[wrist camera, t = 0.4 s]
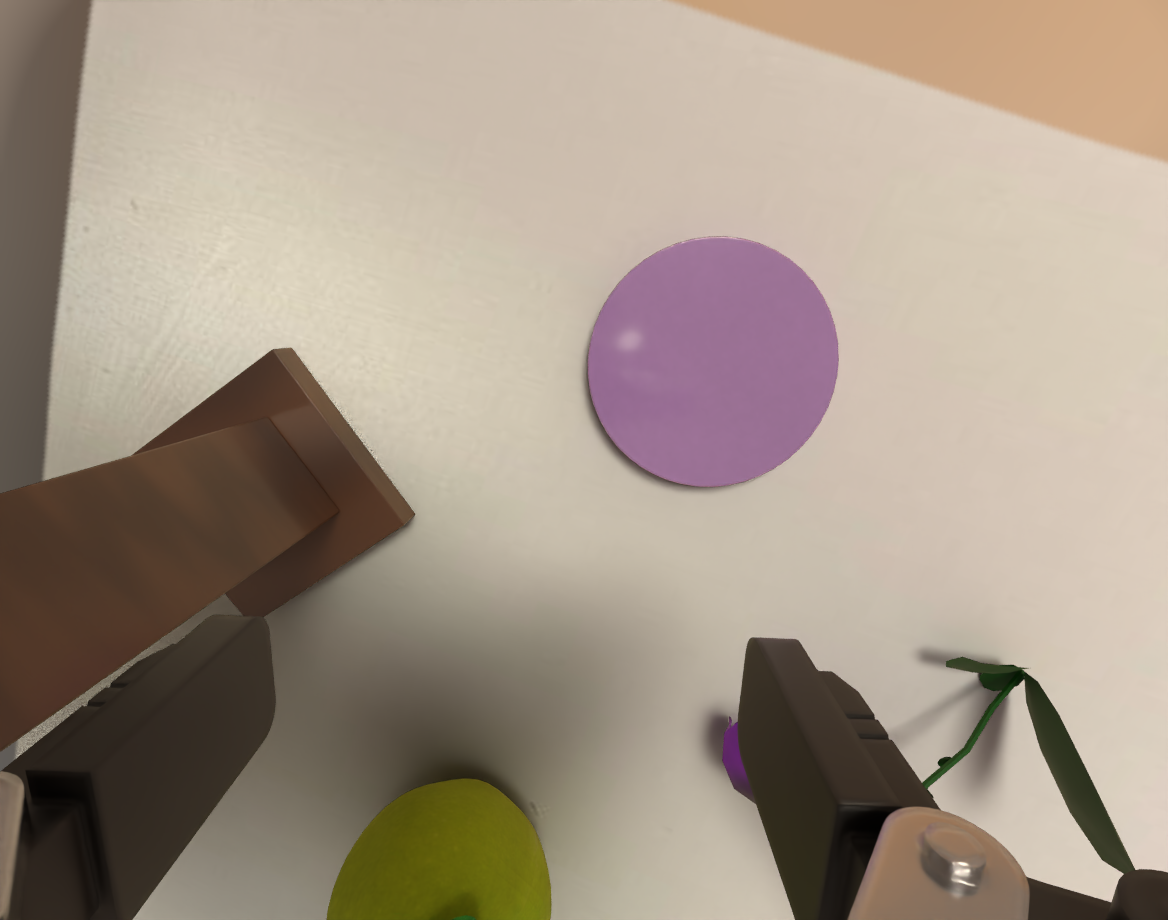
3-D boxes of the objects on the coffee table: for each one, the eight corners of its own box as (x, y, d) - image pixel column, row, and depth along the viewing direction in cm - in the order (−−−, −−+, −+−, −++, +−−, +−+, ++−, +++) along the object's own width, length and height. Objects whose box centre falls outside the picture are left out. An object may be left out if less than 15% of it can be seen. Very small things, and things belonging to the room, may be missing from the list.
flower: (828, 531, 33) (643, 714, 28) (1184, 558, 19) (920, 927, 14) (959, 736, 35) (806, 932, 31) (1365, 898, 21) (1182, 1300, 17)
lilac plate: (543, 331, 26) (539, 332, 25) (751, 187, 24) (757, 181, 23) (669, 521, 28) (671, 530, 27) (872, 399, 26) (884, 403, 25)
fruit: (344, 801, 32) (225, 1012, 22) (477, 704, 30) (411, 887, 21) (462, 916, 33) (398, 1164, 24) (596, 830, 32) (586, 1058, 22)
